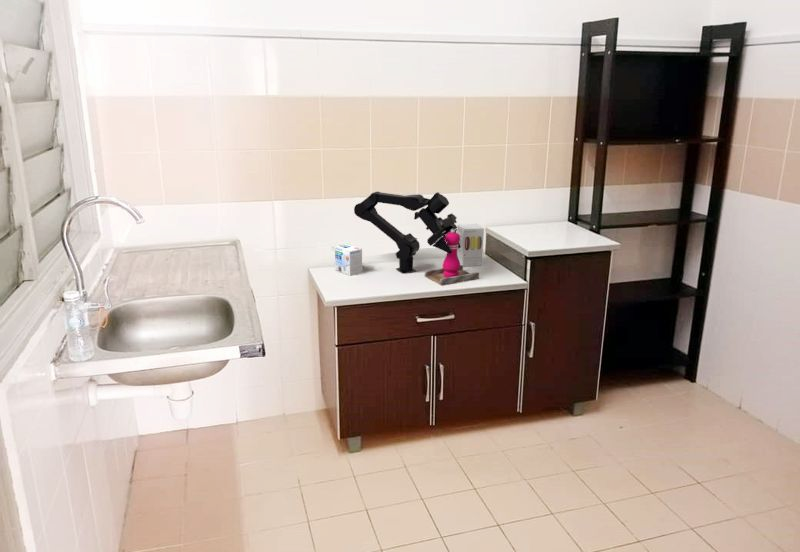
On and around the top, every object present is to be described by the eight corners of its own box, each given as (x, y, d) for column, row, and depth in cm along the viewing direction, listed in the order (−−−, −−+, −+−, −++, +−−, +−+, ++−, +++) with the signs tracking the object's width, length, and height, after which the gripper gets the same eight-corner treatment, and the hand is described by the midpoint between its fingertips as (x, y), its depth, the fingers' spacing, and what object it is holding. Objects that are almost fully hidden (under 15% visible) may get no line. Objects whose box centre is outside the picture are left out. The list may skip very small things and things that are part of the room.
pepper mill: (459, 273, 258) (461, 226, 252) (460, 279, 251) (462, 230, 245) (442, 273, 259) (443, 226, 253) (442, 278, 252) (443, 230, 246)
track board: (441, 285, 246) (441, 279, 245) (424, 276, 257) (424, 270, 256) (478, 278, 254) (479, 273, 253) (461, 270, 265) (461, 265, 264)
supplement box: (462, 266, 270) (463, 229, 265) (455, 261, 278) (456, 224, 273) (482, 265, 272) (484, 227, 267) (475, 259, 280) (476, 223, 275)
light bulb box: (334, 270, 264) (334, 245, 261) (347, 267, 268) (347, 243, 265) (350, 276, 257) (349, 251, 253) (363, 273, 261) (362, 248, 257)
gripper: (435, 212, 240) (461, 243, 239) (453, 204, 256) (477, 233, 255) (416, 230, 246) (441, 260, 245) (435, 220, 262) (459, 249, 261)
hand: (455, 250), depth 251 cm, fingers open, 9 cm apart
